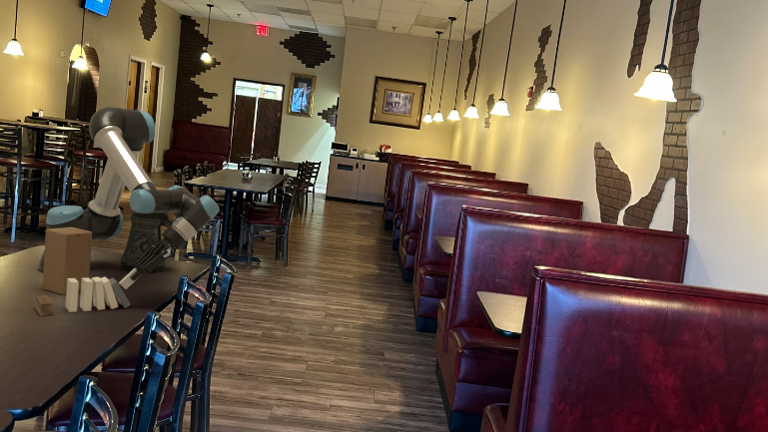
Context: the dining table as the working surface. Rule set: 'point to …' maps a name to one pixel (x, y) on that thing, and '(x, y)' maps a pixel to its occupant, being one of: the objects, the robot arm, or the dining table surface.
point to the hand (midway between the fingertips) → (122, 286)
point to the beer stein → (143, 237)
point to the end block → (43, 305)
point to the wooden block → (66, 257)
